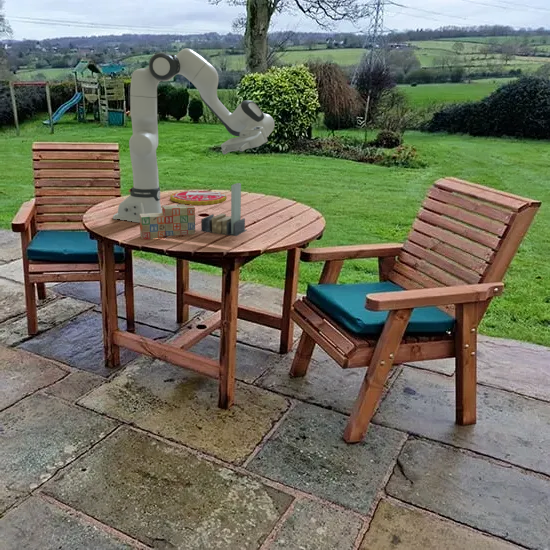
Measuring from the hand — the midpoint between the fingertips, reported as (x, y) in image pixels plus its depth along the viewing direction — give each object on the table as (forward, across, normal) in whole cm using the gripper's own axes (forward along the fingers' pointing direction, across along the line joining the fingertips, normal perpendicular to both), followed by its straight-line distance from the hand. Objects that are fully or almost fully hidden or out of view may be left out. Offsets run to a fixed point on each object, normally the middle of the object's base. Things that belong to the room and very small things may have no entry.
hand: (232, 151), depth 218 cm
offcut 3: (+18, -3, +28) cm, 33 cm away
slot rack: (+19, -5, +28) cm, 34 cm away
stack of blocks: (+36, -18, +18) cm, 44 cm away
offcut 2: (+18, -5, +27) cm, 33 cm away
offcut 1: (+19, -7, +26) cm, 33 cm away
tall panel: (+18, 0, +28) cm, 33 cm away
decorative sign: (-24, -59, +32) cm, 72 cm away
